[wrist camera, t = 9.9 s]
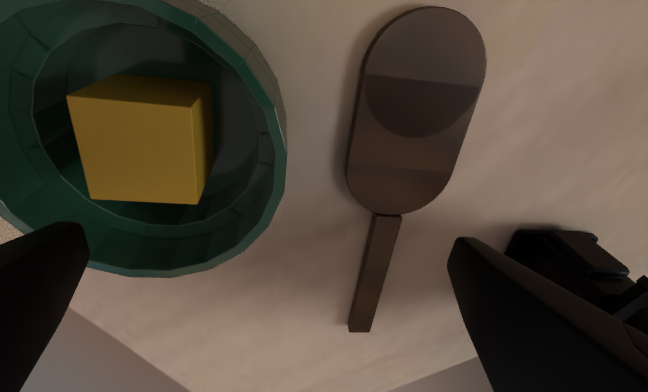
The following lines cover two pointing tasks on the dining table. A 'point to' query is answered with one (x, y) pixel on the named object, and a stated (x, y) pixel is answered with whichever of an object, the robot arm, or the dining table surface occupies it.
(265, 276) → the dining table surface
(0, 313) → the robot arm
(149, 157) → the block
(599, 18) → the dining table surface
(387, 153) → the brown oval paddle
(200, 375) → the dining table surface
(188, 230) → the green pet bowl
